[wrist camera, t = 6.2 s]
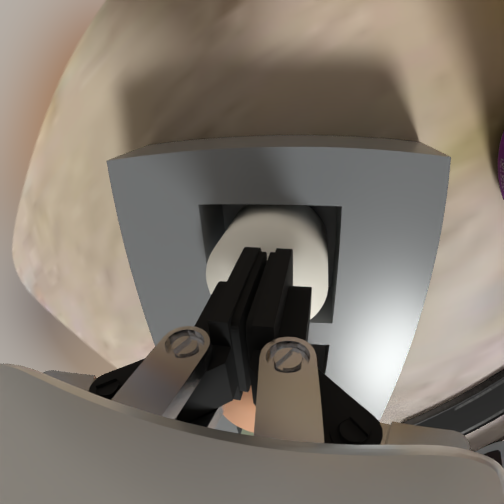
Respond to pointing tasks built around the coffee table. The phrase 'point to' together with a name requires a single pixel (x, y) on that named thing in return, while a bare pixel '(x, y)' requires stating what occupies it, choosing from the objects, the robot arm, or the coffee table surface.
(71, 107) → the coffee table surface
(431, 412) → the phone
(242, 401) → the button terracotta
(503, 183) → the beverage can
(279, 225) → the button ivory
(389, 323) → the grey slotted block
